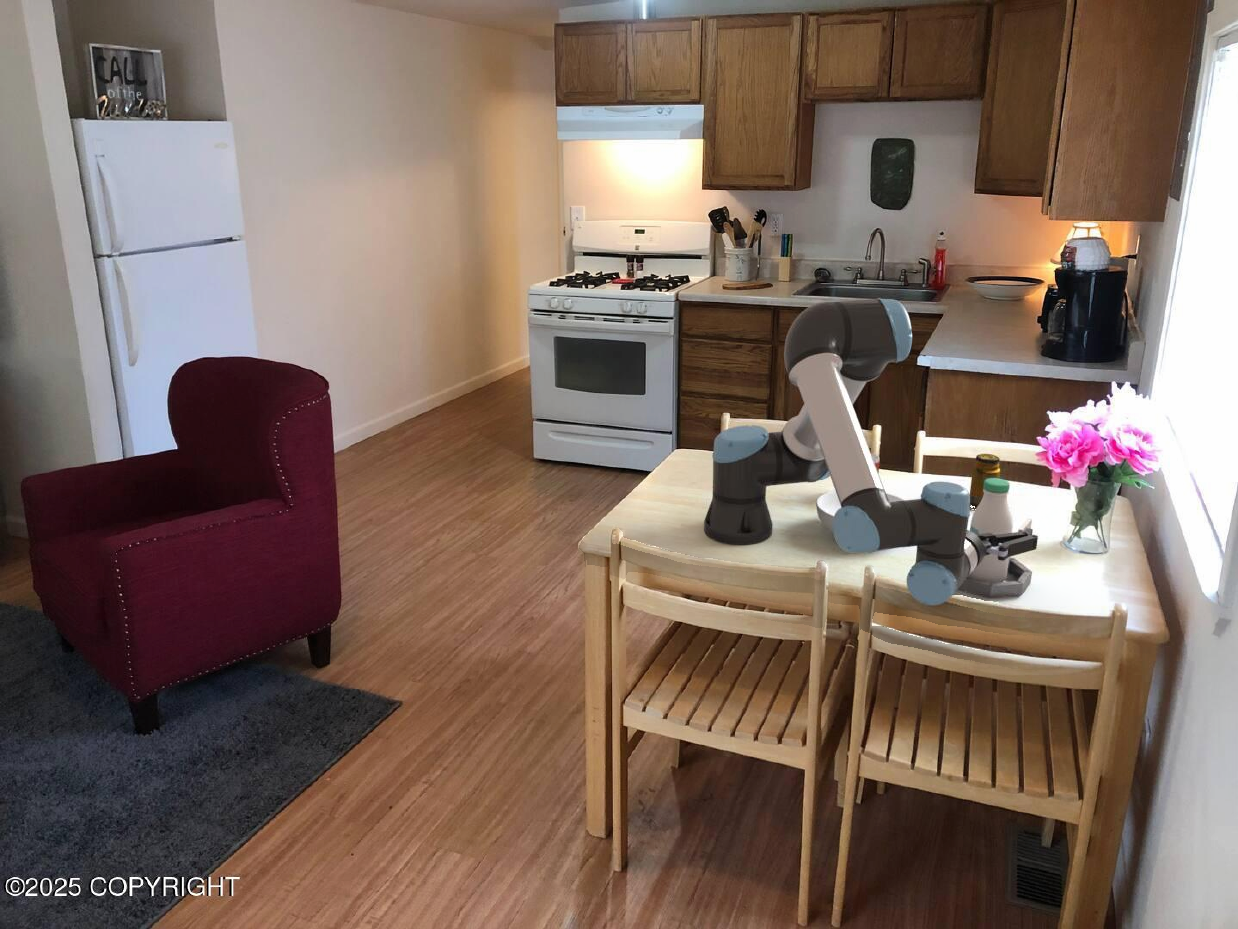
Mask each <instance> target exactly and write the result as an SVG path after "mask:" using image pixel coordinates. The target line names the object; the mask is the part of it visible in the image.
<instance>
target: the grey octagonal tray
mask: <svg viewBox="0 0 1238 929" xmlns="http://www.w3.org/2000/svg"><path fill="white" fill-rule="evenodd" d="M1032 576H1033V571H1032V570H1030V569H1029V568H1028V567H1027V566H1025V565H1024V564H1023V563H1022V562H1020V561H1019V560H1018V559H1016V558H1015V557H1012V556H1011V557H1009V562H1008V570H1007V576H1006V579H1005V580H1004V581H1003V582H999V583H988V582H984V581H980V580H976V579H972V578H968V577H967V578H966V579H965V581H964V582H963V583H962V584H961V586H960V587H959V588H958V589H957V591H961V592H966V593H969V594H973V595H977V596H981V597H983V598H989V599H994V598H1005V597H1007V598H1008V597H1020V596H1022V595H1023V594H1024V593H1025V591H1026V590H1027V589H1028V587H1029V586H1030V585H1031V583H1032Z"/></svg>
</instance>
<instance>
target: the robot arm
mask: <svg viewBox="0 0 1238 929" xmlns="http://www.w3.org/2000/svg"><path fill="white" fill-rule="evenodd" d="M912 332H913V331H912V324H911V320H910V315H909V313H908V311H907V310H906V308H905V306H904V305H903V304H902V303H901V302H900V301H898V300H896V299H893V298H892V299H890V298H880V297H878V298H870V299H869V298H868V299H855V300H843V301H823V302H822V301H821V302H817V303H815V304H813V305H811V306H808V307H807V308H805V309H804V310H803V311H802V312H801V313H800V314H799V315H797V317H796V318H795V320H794V321H793V322H792V324H791V326H790V327H789V330H788V332H787V334H786V338H785V342H784V352H783V358H784V365H785V369H786V370H785V371H786V373H787V376H788V378H789V381H790V383H791V384H792V385H793V386H795V387H797V388H798V389H799V393H800V395H801V399H802V400H803V403H804V404H803V406H802V407H801V410H800V411H799V413H798V415H796V416H794V417H791V418H790V419H789V420H787V421H786V423H785V424H784V427H783V428H782V430H781V431H773V432H772V431H771V432H769V431H768V429H767V428H765V427H763V426H760V425H747V424H746V425H737V426H732V427H730V428H728V429H725V430H723V431H721V432H720V433H719V434H718V435H717V436H716V437H715V439H714V442H713V451H712V454H711V455H712V499H711V502H710V503H709V506H708V509H707V512H706V515H705V517H704V521H703V533H704V534H705V535H706V536H707V537H708V538H710V539H711V540H714V541H715V542H718V543H724V544H729V545H752V544H759V543H762V542H765V541H766V540H768V539H769V538H771V537H772V535H773V520H772V517H771V513H770V511H769V507H768V504H767V500H766V498H767V497H766V496H767V494H766V493H767V492H766V491H767V487H771V486H772V487H773V486H781V485H789V484H790V485H791V484H800V483H801V484H802V483H816V482H818V481H824V480H826V479H828V478H829V477H830V479H831V481H832V485H833V487H834V491H836V493H837V496H838V499H839V502H840V504H841V507H842V508H840V509H838V510H837V511H836V513H835V515H834V519H833V528H834V533H833V536H834V539H835V542H836V544H837V545H838V546H839V548H840V549H841V550H842V551H844V552H846V553H849V554H851V553H853V554H858V553H869V554H871V553H874V552H877V551H878V552H879V551H884V550H885V551H886V550H892V549H898V548H899V549H900V548H910V547H916V555H915V557H916V558H915V563H914V564H913V565H912V566H911V568H910V569H909V571H908V573H907V576H906V586H907V590H908V593H910V595H911V596H912V597H913V598H914V599H915V600H916V601H917V602H919V603H921V604H923V605H926V606H939V605H942V604H943V603H946V602H947V601H948V599H950V598H952V597H954V595H955V594H956V592H957V591H958V590H957V589H958V588H959V587H960V586H961V584H962V583H963V582H964V581H965V579H966V578H967V577H968V576H969V575H970V574H971V573H972V571H973V570H974V569H975V568H976V567H977V566H978V565H979V564H980V562H981V561H982V560H983V558H984V556H986V555H989V554H990V553H991V554H995V555H997V556H998V560H1001V561H1004V560H1005V559H1007V558H1008V557H1011V558H1012V557H1014V556H1017V555H1021V554H1024V553H1028V552H1031V551H1035V550H1037V547H1038V541H1039V540H1038V539H1039V536H1038V535H1037V534H1033V531H1034V530H1033V529H1032V521H1033V519H1032V518H1029V517H1027V518H1026V520H1025V521H1024V522H1023V523H1022V524H1021V526H1020V527H1019V528H1018V530H1017V531H1016V532H1012V533H1006V534H997V535H994V534H992V533H984V534H980V533H973V532H971V531H970V529H968V524H969V519H970V516H971V513H970V512H971V510H970V491H968V489H967V488H966V487H964V486H962V485H961V484H957V483H953V482H950V481H931V482H929V483H926V484H925V485H924V486H923V487H922V491H921V494H920V498H915V499H914V498H913V499H904V500H905V501H896V502H890V501H889V499H888V497H887V495H886V493H887V492H886V490H885V488H884V483H883V482H882V480H881V476H880V473H879V474H878V471H877V468H876V466H875V463H874V460H873V458H872V455H871V454H872V452H871V451H870V448H869V445H868V442H867V439H866V437H865V435H864V432H863V429H862V427H861V424H860V421H859V419H858V416H857V413H856V411H855V408H854V403H855V402H856V401H857V398H858V397H859V395H860V394H861V392H862V390H863V389H864V387H865V385H866V384H867V383H868V382H871V381H873V380H876V379H877V378H878V377H880V376H881V374H882V373H883V371H884V369H885V368H886V367H887V365H888V364H890V363H896V364H898V362H902V361H905V360H906V358H908V356H909V354H910V352H911V348H912V343H913V333H912ZM987 539H988V540H987Z"/></svg>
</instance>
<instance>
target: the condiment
mask: <svg viewBox="0 0 1238 929" xmlns="http://www.w3.org/2000/svg"><path fill="white" fill-rule="evenodd" d="M1000 474H1001V469H1000V457H999V456H997V455H995V454H992V453H979V454H977V455H976V457H975V461H974V465H973V466H972V472H971V480H970V481H971V482H970V486H969V487H970V489H969V494H970V504H971V505H972V506H975V508H974V507H973V508H971V507H970V509H976V508H977V507H978V505H979V504H980V502H981V500H982V498H983V496H984V491H983V489H984V481H985V480H986V479H989V478H998V479H1000Z"/></svg>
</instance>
